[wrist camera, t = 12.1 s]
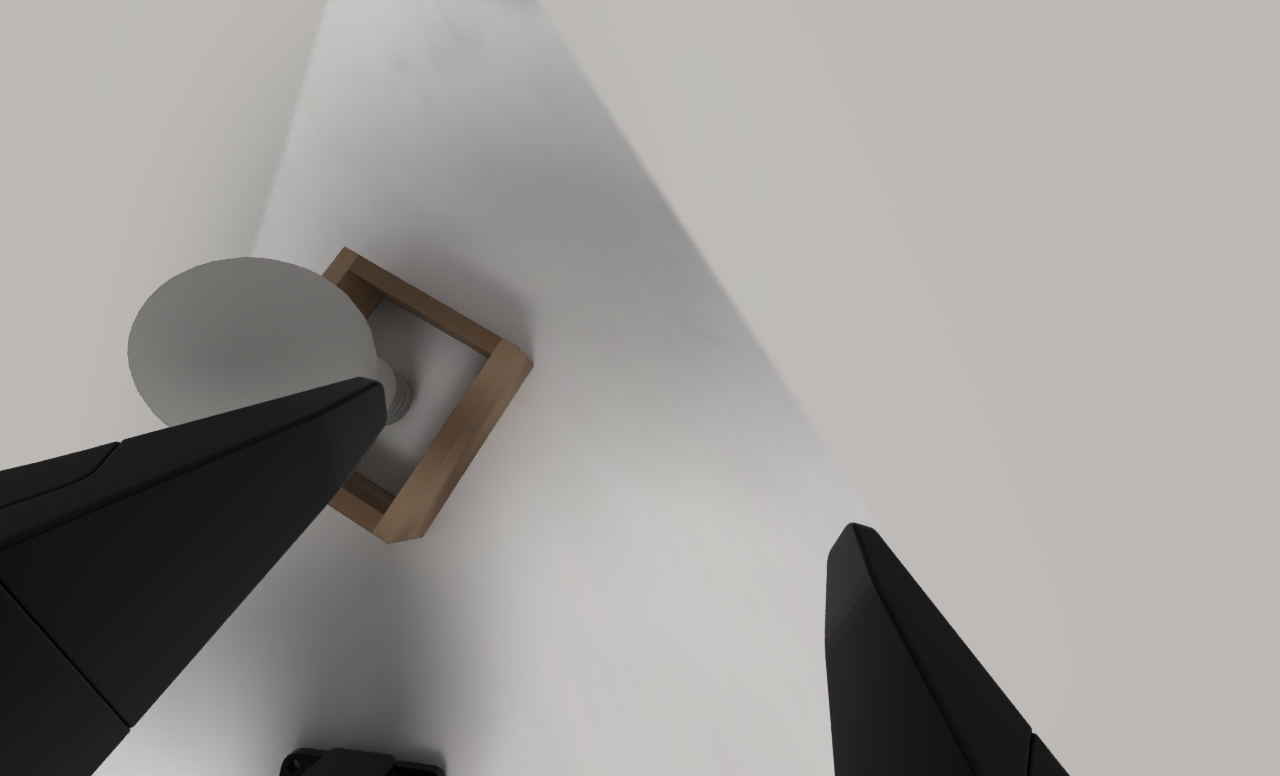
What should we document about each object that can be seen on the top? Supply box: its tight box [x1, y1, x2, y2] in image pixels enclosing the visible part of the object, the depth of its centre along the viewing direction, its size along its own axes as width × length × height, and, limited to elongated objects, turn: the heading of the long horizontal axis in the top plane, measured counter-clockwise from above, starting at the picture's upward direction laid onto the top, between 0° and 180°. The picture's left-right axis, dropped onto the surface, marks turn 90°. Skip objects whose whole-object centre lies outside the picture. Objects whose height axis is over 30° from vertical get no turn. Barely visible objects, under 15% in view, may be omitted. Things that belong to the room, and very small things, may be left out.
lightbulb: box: [127, 257, 412, 427], centre depth 18 cm, size 6×6×11 cm
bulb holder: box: [322, 247, 534, 544], centre depth 22 cm, size 9×9×3 cm
